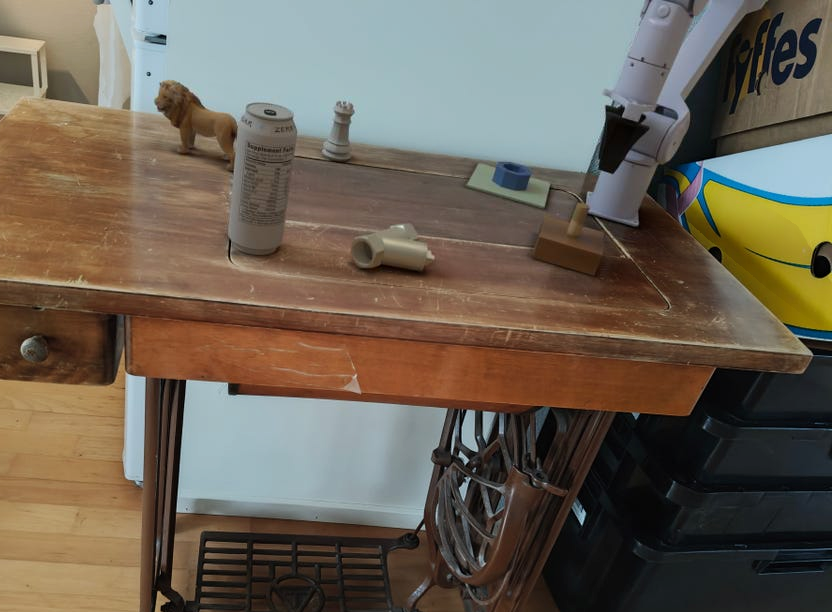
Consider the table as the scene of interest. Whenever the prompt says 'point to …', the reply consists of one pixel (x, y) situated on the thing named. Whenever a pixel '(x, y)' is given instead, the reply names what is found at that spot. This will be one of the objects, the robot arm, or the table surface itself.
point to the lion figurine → (196, 119)
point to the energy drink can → (262, 177)
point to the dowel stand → (570, 242)
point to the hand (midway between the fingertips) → (605, 166)
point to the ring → (511, 176)
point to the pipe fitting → (392, 249)
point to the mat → (530, 196)
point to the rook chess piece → (339, 133)
